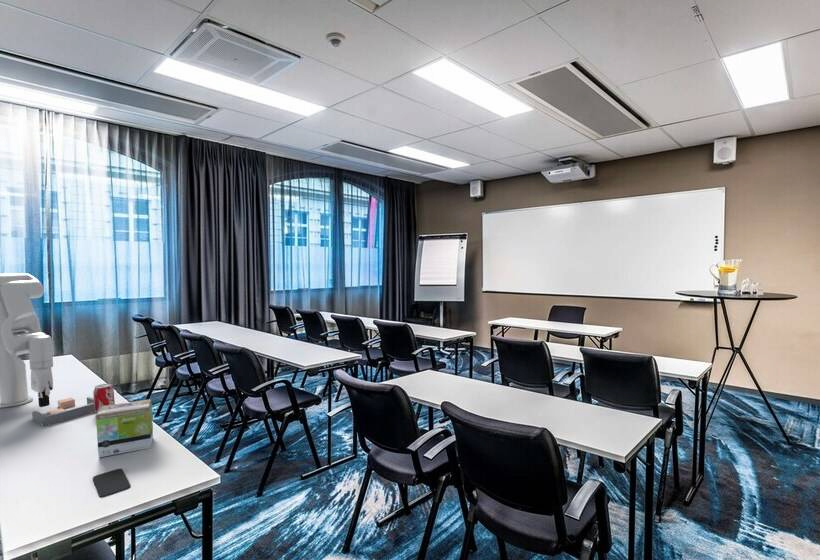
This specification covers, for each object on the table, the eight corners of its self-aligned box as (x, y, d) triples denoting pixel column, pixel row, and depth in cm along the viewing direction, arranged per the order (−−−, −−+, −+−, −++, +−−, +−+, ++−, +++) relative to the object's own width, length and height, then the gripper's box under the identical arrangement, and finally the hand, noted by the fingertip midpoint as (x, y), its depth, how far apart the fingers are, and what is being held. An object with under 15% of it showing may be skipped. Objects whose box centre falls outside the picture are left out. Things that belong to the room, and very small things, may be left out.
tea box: (98, 459, 138) (94, 415, 137) (103, 447, 147) (100, 405, 146) (151, 448, 145) (149, 406, 144) (154, 437, 154) (151, 397, 153)
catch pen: (32, 420, 175) (31, 411, 174) (90, 404, 192) (89, 396, 192) (45, 425, 168) (44, 417, 168) (103, 409, 185) (102, 401, 185)
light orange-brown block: (47, 419, 176) (46, 412, 176) (61, 415, 180) (61, 408, 180) (52, 421, 173) (51, 414, 173) (66, 417, 178) (66, 410, 177)
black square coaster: (99, 497, 115) (91, 476, 126) (99, 500, 115) (92, 479, 126) (131, 486, 120) (121, 467, 131) (131, 489, 120) (121, 470, 131)
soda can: (104, 417, 176) (102, 388, 175) (90, 416, 177) (88, 388, 176) (119, 410, 183) (117, 383, 182) (105, 410, 184) (103, 382, 183)
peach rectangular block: (58, 407, 190) (57, 400, 190) (72, 403, 194) (71, 397, 194) (61, 409, 187) (60, 402, 187) (75, 406, 191) (74, 399, 191)
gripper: (23, 363, 182) (26, 405, 184) (37, 369, 174) (40, 412, 176) (45, 359, 189) (48, 399, 190) (59, 365, 181) (62, 406, 182)
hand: (44, 405), depth 183 cm, fingers closed
